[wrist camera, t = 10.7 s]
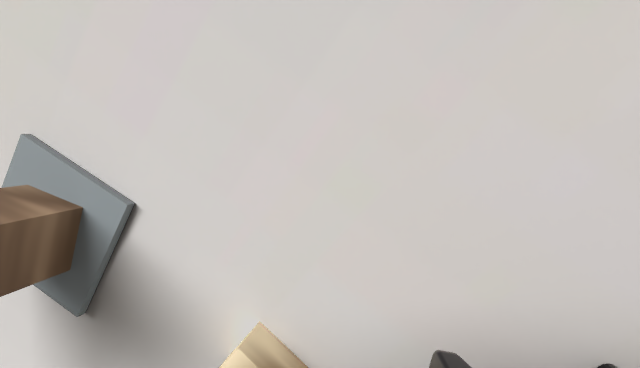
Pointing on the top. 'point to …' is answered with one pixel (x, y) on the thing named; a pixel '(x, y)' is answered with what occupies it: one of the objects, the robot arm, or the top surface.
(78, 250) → the slate coaster
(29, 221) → the walnut pillar
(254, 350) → the maple brick
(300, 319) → the top surface
